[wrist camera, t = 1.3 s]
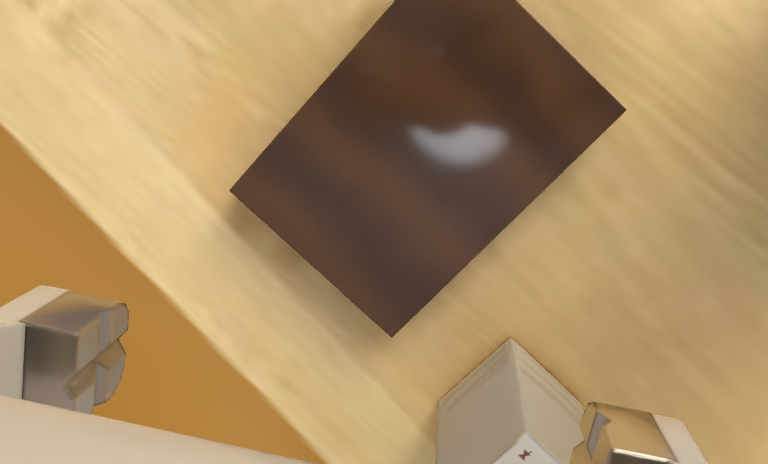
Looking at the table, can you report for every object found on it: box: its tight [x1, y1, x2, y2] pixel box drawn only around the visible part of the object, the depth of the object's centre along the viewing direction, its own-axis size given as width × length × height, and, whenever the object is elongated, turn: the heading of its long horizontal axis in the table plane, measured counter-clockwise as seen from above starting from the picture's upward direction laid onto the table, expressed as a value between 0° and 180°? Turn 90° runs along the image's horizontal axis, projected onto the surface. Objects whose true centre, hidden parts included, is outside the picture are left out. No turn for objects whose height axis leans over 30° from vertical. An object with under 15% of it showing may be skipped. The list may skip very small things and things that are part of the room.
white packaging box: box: [436, 338, 584, 464], centre depth 44 cm, size 7×7×13 cm
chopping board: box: [230, 0, 626, 337], centre depth 44 cm, size 20×14×4 cm
